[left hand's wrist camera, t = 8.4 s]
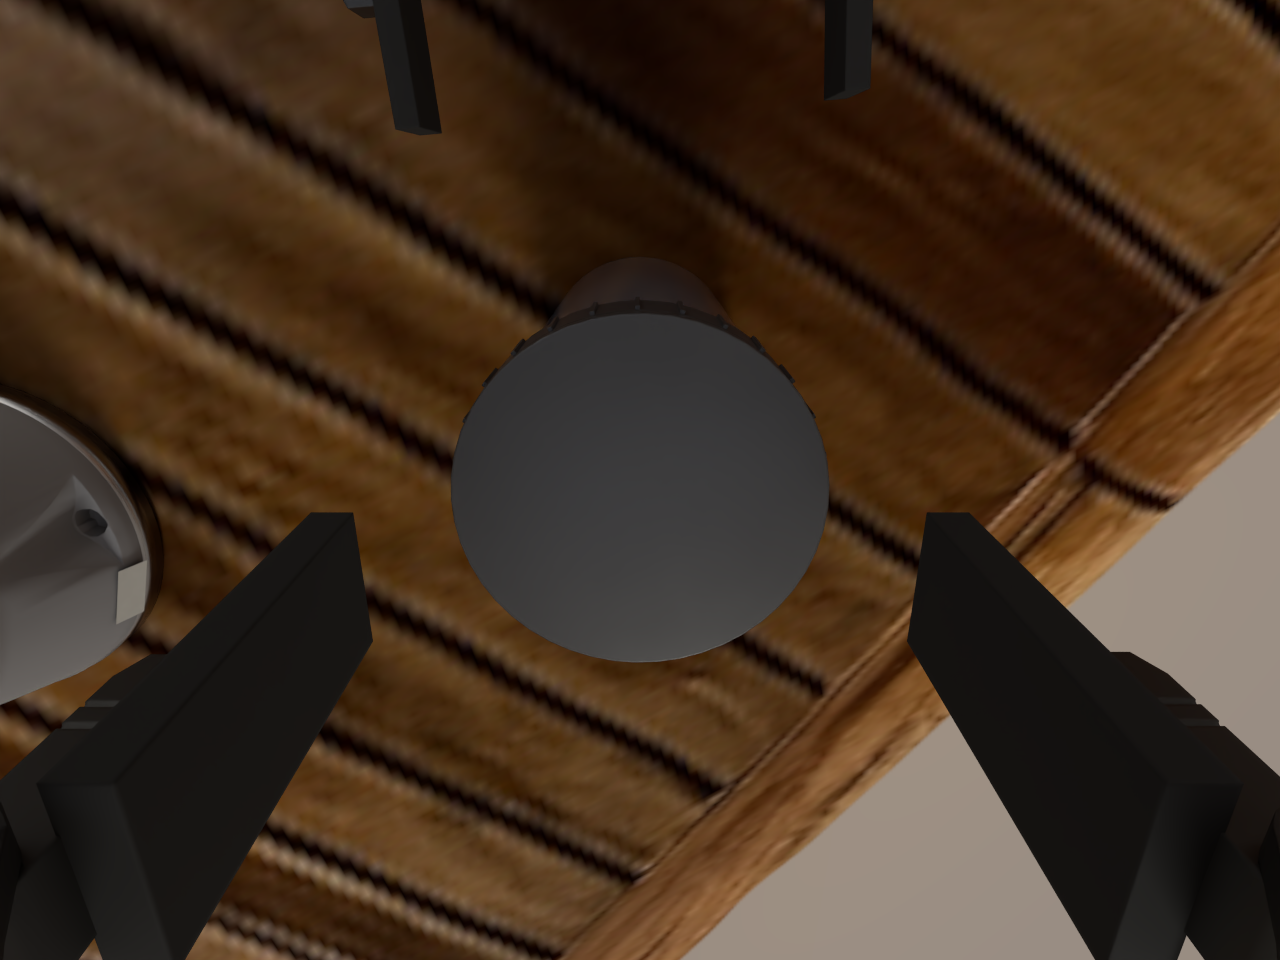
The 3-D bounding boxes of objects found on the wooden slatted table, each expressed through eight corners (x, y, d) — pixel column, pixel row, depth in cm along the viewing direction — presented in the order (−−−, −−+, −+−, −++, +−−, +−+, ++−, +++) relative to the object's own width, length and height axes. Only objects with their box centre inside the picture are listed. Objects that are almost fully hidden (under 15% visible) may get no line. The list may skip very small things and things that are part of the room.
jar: (766, 320, 33) (882, 442, 17) (668, 467, 35) (691, 691, 20) (608, 219, 31) (575, 249, 15) (517, 380, 34) (409, 548, 18)
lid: (884, 417, 18) (911, 443, 17) (691, 671, 21) (696, 718, 19) (575, 222, 17) (566, 226, 15) (409, 525, 19) (385, 560, 18)
